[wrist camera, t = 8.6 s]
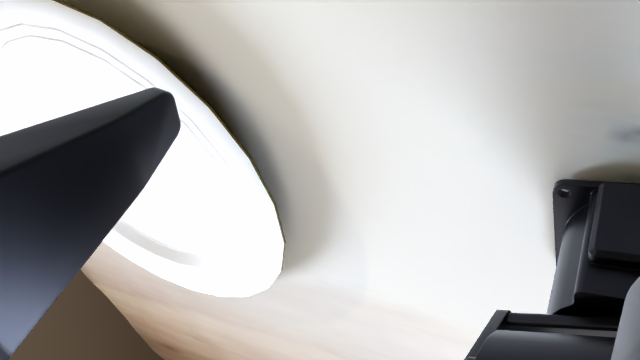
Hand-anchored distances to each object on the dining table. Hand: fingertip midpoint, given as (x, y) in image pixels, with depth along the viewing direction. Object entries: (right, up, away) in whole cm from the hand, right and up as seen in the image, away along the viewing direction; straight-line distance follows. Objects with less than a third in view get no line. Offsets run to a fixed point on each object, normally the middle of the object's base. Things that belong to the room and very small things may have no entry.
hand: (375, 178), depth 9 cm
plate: (-16, +2, +31) cm, 35 cm away
